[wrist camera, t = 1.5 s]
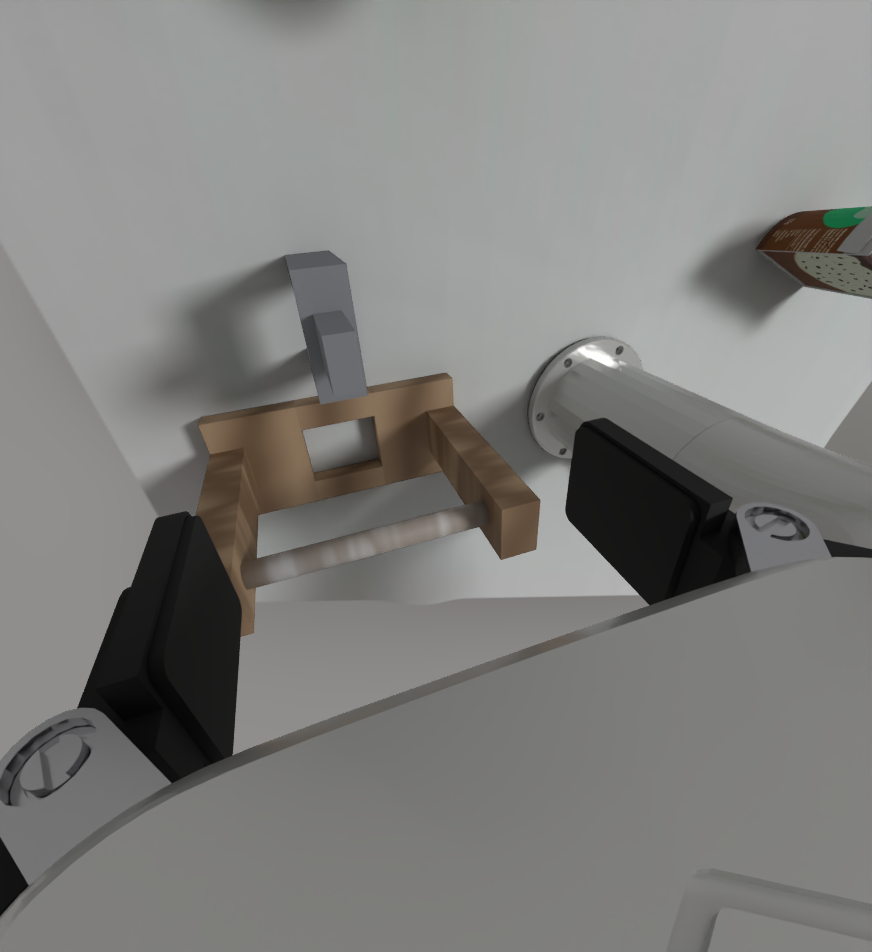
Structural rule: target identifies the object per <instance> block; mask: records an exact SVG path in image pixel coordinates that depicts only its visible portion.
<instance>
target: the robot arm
mask: <svg viewBox="0 0 872 952" xmlns="http://www.w3.org/2000/svg"><path fill="white" fill-rule="evenodd" d="M528 414H529V426H530V429H531V433H532V435H533V437H534V439H535V441H536V442H537V443H538V444H539V445H540V446H541V447H542V448H543V449H544V450H546V451H547V452H548V453H549V454H552V455H554V456H556V457H559V458H564V459H572V461H571V469H570V477H569V484H568V492H567V500H566V509H565V511H566V515H567V518H568V520H569V521H570V522H571V523H572V524H573V525H574V526H575V527H576V528H577V529H578V531H579V532H580V533H581V534H582V535H583V536H584V537H585V538H586V539H587V540H588V541H589V542H590V543H591V544H592V545H593V546H594V547H595V548H596V549H597V550H598V552H599V553H600V554H601V555H602V556H603V557H604V558H605V559H606V560H607V561H608V562H609V563H610V564H611V565H612V566H613V567H614V568H615V569H616V570H617V571H618V573H619V574H620V575H621V576H622V577H623V578H624V579H625V580H626V581H627V582H628V583H629V584H630V585H631V586H632V587H633V588H634V589H635V590H636V591H637V593H638V594H639V595H640V596H641V597H642V598H643V599H644V600H645V601H646V602H647V603H648V604H649V605H650V606H647V607H644V608H641V609H638V610H635V611H632V612H630V613H627V614H623V615H620V616H618V617H615V618H612V619H609V620H606V621H603V622H600V623H597V624H594V625H592V626H589V627H586V628H583V629H580V630H577V631H574V632H572V633H569V634H566V635H563V636H560V637H557V638H554V639H552V640H549V641H546V642H543V643H540V644H537V645H534V646H532V647H529V648H526V649H523V650H520V651H517V652H514V653H512V654H509V655H506V656H503V657H500V658H497V659H495V660H492V661H489V662H486V663H483V664H480V665H478V666H475V667H472V668H469V669H466V670H463V671H461V672H458V673H455V674H452V675H449V676H447V677H444V678H441V679H438V680H436V681H432V682H430V683H427V684H424V685H421V686H419V687H416V688H413V689H410V690H407V691H405V692H402V693H399V694H396V695H393V696H390V697H388V698H385V699H382V700H379V701H377V702H374V703H371V704H368V705H365V706H363V707H360V708H357V709H354V710H351V711H349V712H346V713H343V714H340V715H337V716H335V717H332V718H329V719H327V720H324V721H321V722H319V723H316V724H313V725H311V726H308V727H305V728H303V729H300V730H297V731H295V732H292V733H289V734H287V735H284V736H281V737H279V738H276V739H273V740H270V741H268V742H265V743H263V744H260V745H257V746H254V747H252V748H249V749H247V750H245V751H242V752H240V753H238V754H235V755H233V756H232V754H233V743H234V728H235V712H236V696H237V682H238V666H239V650H240V636H241V621H242V608H241V603H240V599H239V597H238V595H237V593H236V591H235V588H234V586H233V584H232V582H231V580H230V578H229V576H228V574H227V571H226V569H225V567H224V565H223V563H222V561H221V559H220V557H219V554H218V552H217V550H216V548H215V546H214V544H213V542H212V539H211V537H210V535H209V533H208V531H207V529H206V527H205V525H204V522H203V520H202V519H201V517H200V516H198V515H197V516H193V517H192V516H191V515H190V514H189V513H188V512H186V511H185V512H181V513H176V514H172V515H167V516H163V517H159V518H157V519H156V520H155V522H154V525H153V528H152V530H151V533H150V536H149V538H148V541H147V544H146V547H145V549H144V552H143V555H142V558H141V561H140V563H139V566H138V569H137V572H136V574H135V577H134V580H133V583H132V585H131V587H129V588H127V589H125V590H124V591H123V592H122V594H121V596H120V597H119V600H118V603H117V605H116V608H115V610H114V613H113V616H112V618H111V621H110V624H109V626H108V629H107V631H106V634H105V637H104V639H103V642H102V645H101V647H100V650H99V653H98V655H97V658H96V660H95V663H94V666H93V668H92V671H91V673H90V676H89V679H88V681H87V684H86V687H85V689H84V692H83V695H82V697H81V700H80V702H79V706H78V708H77V709H73V710H69V711H65V712H63V713H61V714H59V715H56V716H54V717H52V718H50V719H48V720H46V721H45V722H43V723H41V724H40V725H38V726H37V727H35V728H34V729H32V730H31V731H29V732H28V733H27V734H26V735H25V736H24V737H23V738H21V739H20V740H19V741H18V742H17V743H16V744H15V745H14V746H12V747H11V749H10V750H9V751H8V752H7V754H6V755H5V756H4V757H3V758H2V759H1V761H0V952H872V465H871V464H868V463H864V462H862V461H859V460H856V459H852V458H849V457H847V456H844V455H840V454H838V453H834V452H832V451H829V450H827V449H824V448H822V447H819V446H817V445H814V444H812V443H809V442H807V441H804V440H802V439H799V438H797V437H794V436H792V435H789V434H787V433H784V432H782V431H780V430H777V429H775V428H773V427H770V426H768V425H766V424H763V423H761V422H759V421H757V420H754V419H752V418H750V417H747V416H745V415H743V414H741V413H738V412H736V411H734V410H732V409H729V408H727V407H725V406H723V405H720V404H718V403H716V402H714V401H711V400H709V399H707V398H704V397H702V396H700V395H698V394H695V393H693V392H691V391H689V390H686V389H684V388H682V387H680V386H677V385H675V384H673V383H670V382H668V381H666V380H664V379H661V378H659V377H657V376H655V375H652V374H650V373H648V372H645V371H643V368H642V364H641V360H640V359H639V357H638V355H637V353H636V352H635V351H634V350H633V349H632V348H631V347H630V346H629V345H627V344H625V343H624V342H622V341H619V340H617V339H614V338H611V337H601V336H600V337H593V338H588V339H585V340H582V341H579V342H577V343H575V344H573V345H572V346H570V347H568V348H567V349H565V350H564V351H563V352H561V353H560V354H559V355H558V356H556V358H555V359H554V360H553V361H552V362H551V363H550V364H549V365H548V366H547V367H546V369H545V370H544V372H543V373H542V375H541V376H540V378H539V380H538V382H537V384H536V386H535V388H534V390H533V393H532V396H531V400H530V405H529V412H528Z"/></svg>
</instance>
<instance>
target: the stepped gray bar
mask: <svg viewBox="0 0 872 952" xmlns="http://www.w3.org/2000/svg"><path fill="white" fill-rule="evenodd" d="M285 259H286V263H287V267H288V272H289V276H290V279H291V283H292V286H293V290H294V294H295V298H296V303H297V307H298V311H299V315H300V320H301V324H302V328H303V333H304V337H305V341H306V345H307V353H308V357H309V361H310V365H311V369H312V373H313V377H314V381H315V385H316V389H317V393H318V397H319V401H320V405H321V404H326V403H332V402H337V401H342V400H348V399H353V398H358V397H364V396H368V392H367V386H366V380H365V374H364V368H363V362H362V356H361V350H360V344H359V338H358V332H357V326H356V320H355V314H354V308H353V302H352V296H351V290H350V284H349V278H348V271H347V265H346V263H344V262H343V261H342V260H341V259H339V258H338V257H337V256H335V255H334V254H333V253H331V252H330V251H320V252H310V253H301V254H292V255H285Z"/></svg>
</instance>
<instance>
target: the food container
mask: <svg viewBox="0 0 872 952" xmlns="http://www.w3.org/2000/svg"><path fill="white" fill-rule="evenodd" d="M756 250H757V251H758V252H759V253H760V254H762V255H763V256H764V257H766V258H767V259H768V260H770V261H771V262H772V263H773V264H775V265H776V266H777V267H779V268H780V269H781V270H783V271H784V272H785V273H787V274H788V275H789V276H790V277H792V278H793V279H794V280H796V281H797V282H798V283H800V284H801V285H802V286H804V287H809V288H815V289H820V290H826V291H831V292H837V293H842V294H848V295H853V296H859V297H864V298H870V299H872V206H871V207H857V208H844V209H830V210H817V211H803V212H798V213H794V214H792V215H790V216H788V217H786V218H785V219H783V220H782V221H780V222H779V223H778V224H777V225H776V226H774V227H773V228H772V229H771V230H770V232H769V233H768V234H767V235H766V236H765V237H764V238H763V240H762V241H761V242H760V244H759V245H758V247H757V248H756Z"/></svg>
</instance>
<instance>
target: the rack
mask: <svg viewBox="0 0 872 952" xmlns="http://www.w3.org/2000/svg"><path fill="white" fill-rule="evenodd" d="M367 392H368V396H364V397H358V398H353V399H348V400H342V401H337V402H332V403H326V404H321V405H320V401H319V397H318V396H315V397H310V398H304V399H299V400H293V401H288V402H282V403H277V404H271V405H266V406H260V407H255V408H249V409H244V410H238V411H233V412H227V413H222V414H216V415H211V416H205V417H201V418H200V421H199V425H198V426H199V428H200V431H201V433H202V436H203V438H204V441H205V443H206V445H207V448H208V450H209V453H210V458H209V462H208V466H207V470H206V474H205V479H204V483H203V487H202V491H201V495H200V500H199V504H198V508H197V512H196V516H197V515H198V516H200V517H201V519H202V520H203V522H204V525H205V527H206V529H207V531H208V533H209V535H210V537H211V539H212V542H213V544H214V546H215V548H216V550H217V552H218V554H219V557H220V559H221V561H222V563H223V565H224V567H225V569H226V571H227V574H228V576H229V578H230V580H231V582H232V584H233V586H234V588H235V591H236V593H237V595H238V597H239V599H240V603H241V608H242V621H241V636H245V635H248V634H252V633H254V617H255V590H256V587H260V586H264V585H267V584H271V583H275V582H278V581H282V580H286V579H289V578H293V577H297V576H300V575H304V574H308V573H311V572H315V571H319V570H322V569H326V568H330V567H333V566H337V565H341V564H344V563H348V562H352V561H355V560H359V559H363V558H366V557H370V556H374V555H377V554H381V553H385V552H388V551H392V550H396V549H400V548H403V547H407V546H411V545H414V544H418V543H422V542H425V541H429V540H433V539H436V538H440V537H444V536H447V535H451V534H455V533H458V532H462V531H466V530H469V529H473V528H477V527H480V529H481V530H482V532H483V533H484V535H485V536H486V538H487V539H488V541H489V542H490V544H491V545H492V547H493V549H494V550H495V552H496V553H497V555H498V556H499V558H500V559H501V560H502V559H506V558H509V557H513V556H516V555H519V554H523V553H526V552H529V551H533V550H536V546H537V534H538V522H539V510H540V499H539V498H538V497H537V496H536V495H535V494H534V492H533V491H532V490H531V489H530V488H529V487H528V486H527V485H526V484H525V483H524V482H523V480H522V479H521V478H520V477H519V476H518V475H517V474H516V473H515V472H514V471H513V470H512V469H511V467H510V466H509V465H508V464H507V463H506V462H505V461H504V460H503V459H502V458H501V457H500V455H499V454H498V453H497V452H496V451H495V450H494V449H493V448H492V447H491V446H490V445H489V443H488V442H487V441H486V440H485V439H484V438H483V437H482V436H481V435H480V434H479V433H478V432H477V430H476V429H475V428H474V427H473V426H472V425H471V424H470V423H469V422H468V421H467V420H466V418H465V417H464V416H463V415H462V414H461V413H460V412H459V411H458V410H457V409H456V408H455V407H454V403H453V383H452V377H450V376H449V375H448V374H447V373H442V374H436V375H431V376H425V377H420V378H414V379H409V380H403V381H398V382H392V383H387V384H381V385H376V386H370V387H367ZM371 416H372V418H373V424H374V430H375V436H376V442H377V448H378V454H379V459H375V460H371V461H366V462H362V463H357V464H352V465H348V466H343V467H339V468H334V469H330V470H325V471H321V472H316V473H313V469H312V465H311V462H310V458H309V454H308V450H307V447H306V443H305V439H304V436H303V432H302V430H306V429H311V428H316V427H321V426H326V425H331V424H336V423H341V422H346V421H351V420H356V419H361V418H366V417H371ZM442 471H443V472H444V473H445V475H446V476H447V478H448V480H449V481H450V483H451V484H452V486H453V487H454V489H455V490H456V492H457V493H458V495H459V496H460V498H461V499H462V501H463V503H464V504H465V505H463V506H459V507H455V508H451V509H447V510H443V511H440V512H436V513H432V514H428V515H424V516H420V517H416V518H412V519H409V520H405V521H401V522H397V523H393V524H389V525H385V526H381V527H378V528H374V529H370V530H366V531H362V532H358V533H354V534H350V535H347V536H343V537H339V538H335V539H331V540H327V541H323V542H319V543H316V544H312V545H308V546H304V547H300V548H296V549H292V550H288V551H285V552H281V553H277V554H273V555H269V556H265V557H261V558H258V559H257V536H258V515H260V514H264V513H268V512H273V511H277V510H281V509H285V508H290V507H294V506H298V505H302V504H306V503H311V502H315V501H319V500H323V499H328V498H332V497H336V496H340V495H345V494H349V493H353V492H357V491H361V490H366V489H370V488H374V487H378V486H383V485H387V484H391V483H395V482H400V481H404V480H408V479H412V478H416V477H421V476H425V475H429V474H433V473H438V472H442ZM241 636H240V637H241Z"/></svg>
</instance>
